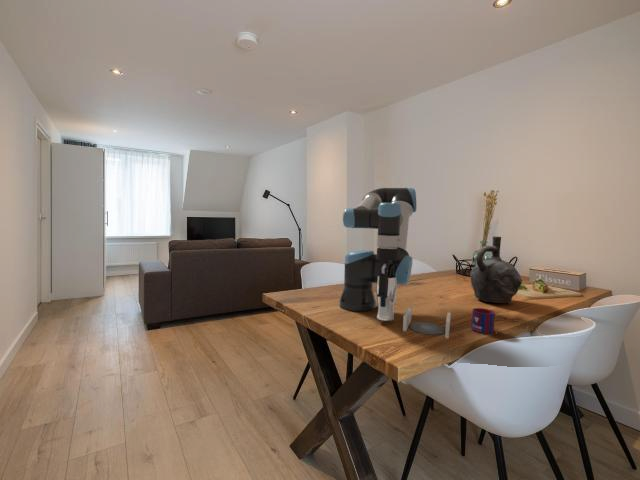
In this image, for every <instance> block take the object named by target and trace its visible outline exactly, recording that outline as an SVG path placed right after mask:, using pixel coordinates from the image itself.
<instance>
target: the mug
mask: <svg viewBox="0 0 640 480" xmlns="http://www.w3.org/2000/svg"><path fill="white" fill-rule="evenodd" d="M471 312H472V313H471V331H473V332H475V333H477V332H478V333H477V334H481V333H483V334H482V335H492V334H493V333H494V331H495V319H496V316H495V315H496V312H495V311H494V310H492V309H487V308H482V307H481V308H480V307H476V308H472V311H471Z"/></svg>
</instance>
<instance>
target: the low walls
mask: <svg viewBox="0 0 640 480" xmlns="http://www.w3.org/2000/svg"><path fill="white" fill-rule="evenodd" d="M412 308H413V307H411V306H408V309H406V312H405V313H404V314H403V317H402V318H403V321H402V331H403V332H407V330H408V328H409V327H410V324H411V322H412V315H413V312H412V311H413V309H412ZM451 314H452V312H448V311H447V314H446V320H445V330H444V335H445V336H444V338H445V339H449V337H450V331H451V329H450V327H451V316H452V315H451Z"/></svg>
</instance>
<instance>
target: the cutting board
mask: <svg viewBox="0 0 640 480" xmlns="http://www.w3.org/2000/svg"><path fill="white" fill-rule="evenodd" d="M514 296H518V297H523V298H526V299H530V300H531V299H533V300H536V299H537V300H538V299H551V298H552V299H553V298H554V299H556V298H569V297H571V298H572V297H573V298H574V297H581V296H582V293H581V292H578V291H574V290H570V289H564V288H561V287H556V286H555V287H554V286H552V285H548V284H547V283H545V281H543V279H542V278H536V279H535V280H533V279H532V284H523V283H522V284H521V285H520V287H519V289H518V292H517V293H516V294H515V295H514Z"/></svg>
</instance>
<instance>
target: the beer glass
mask: <svg viewBox="0 0 640 480" xmlns="http://www.w3.org/2000/svg"><path fill="white" fill-rule="evenodd" d="M387 279H388V278H387ZM375 285H376V287H375V288H376V289H375V291H376V302H377V313H376V318H377V320H380V321H386V322H389V321H390V322H391V321H394V320H395V314H394V305H395V302H396V296H397V288H398V287H397V286H398V285H397V280H396V276H394V275H393V276H392V278H389V279H388V294H387V295H388V296H387V297H388V313H387V316H381V315H379V304H380V297H377V295H378V292H379V275H378V276H377V283H376V284H375Z"/></svg>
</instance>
